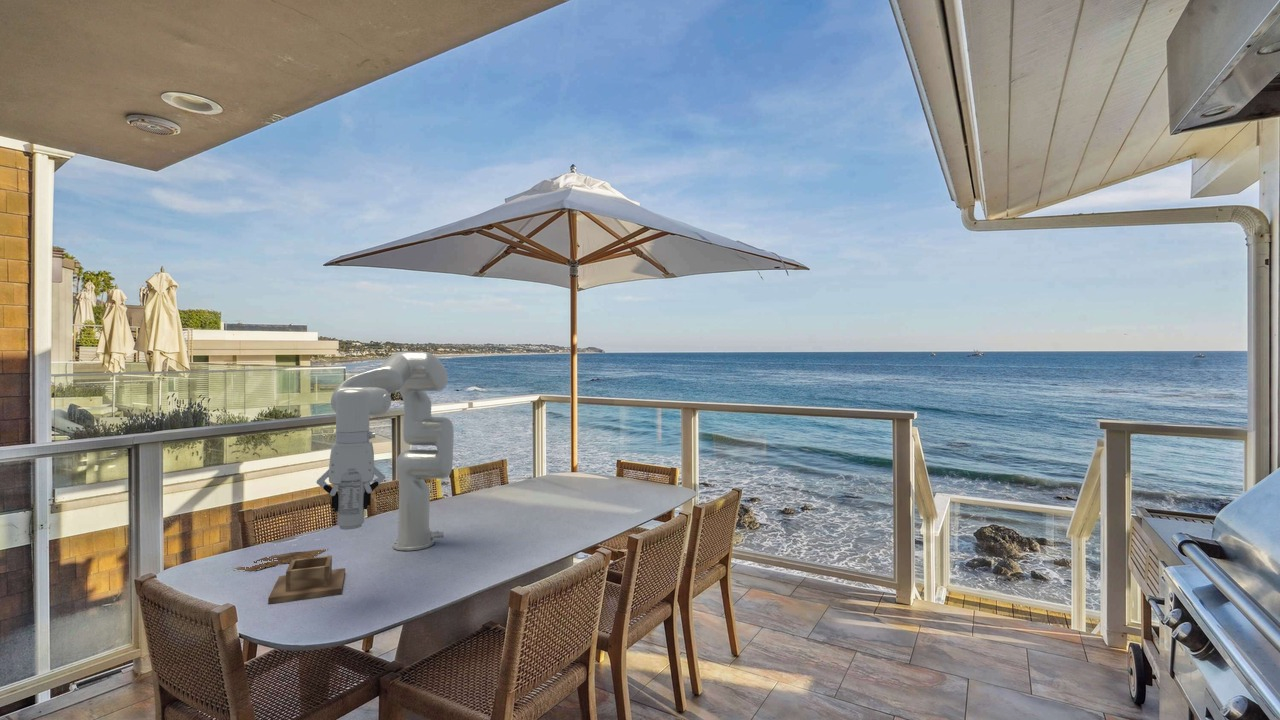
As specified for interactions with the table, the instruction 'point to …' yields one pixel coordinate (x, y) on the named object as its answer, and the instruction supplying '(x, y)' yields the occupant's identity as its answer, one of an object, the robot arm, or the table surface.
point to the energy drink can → (350, 500)
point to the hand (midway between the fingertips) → (351, 508)
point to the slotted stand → (308, 580)
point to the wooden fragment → (282, 559)
